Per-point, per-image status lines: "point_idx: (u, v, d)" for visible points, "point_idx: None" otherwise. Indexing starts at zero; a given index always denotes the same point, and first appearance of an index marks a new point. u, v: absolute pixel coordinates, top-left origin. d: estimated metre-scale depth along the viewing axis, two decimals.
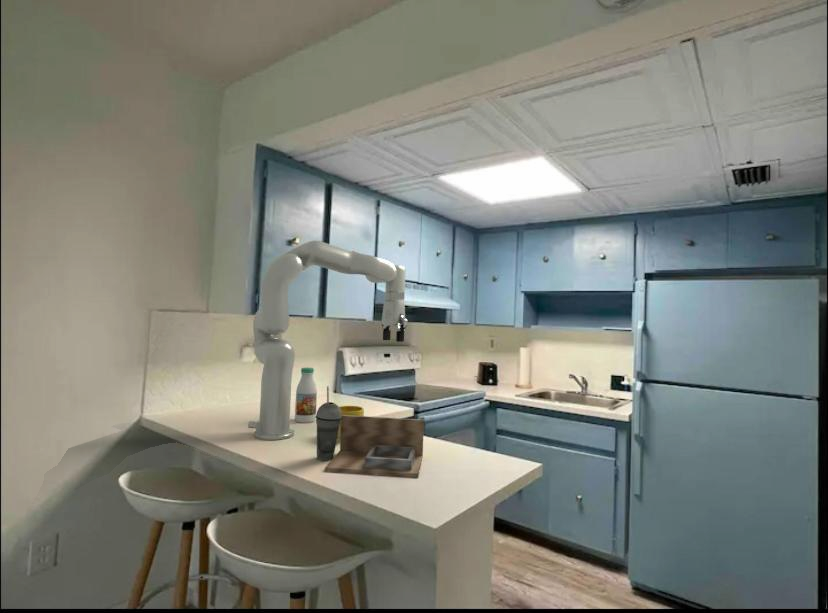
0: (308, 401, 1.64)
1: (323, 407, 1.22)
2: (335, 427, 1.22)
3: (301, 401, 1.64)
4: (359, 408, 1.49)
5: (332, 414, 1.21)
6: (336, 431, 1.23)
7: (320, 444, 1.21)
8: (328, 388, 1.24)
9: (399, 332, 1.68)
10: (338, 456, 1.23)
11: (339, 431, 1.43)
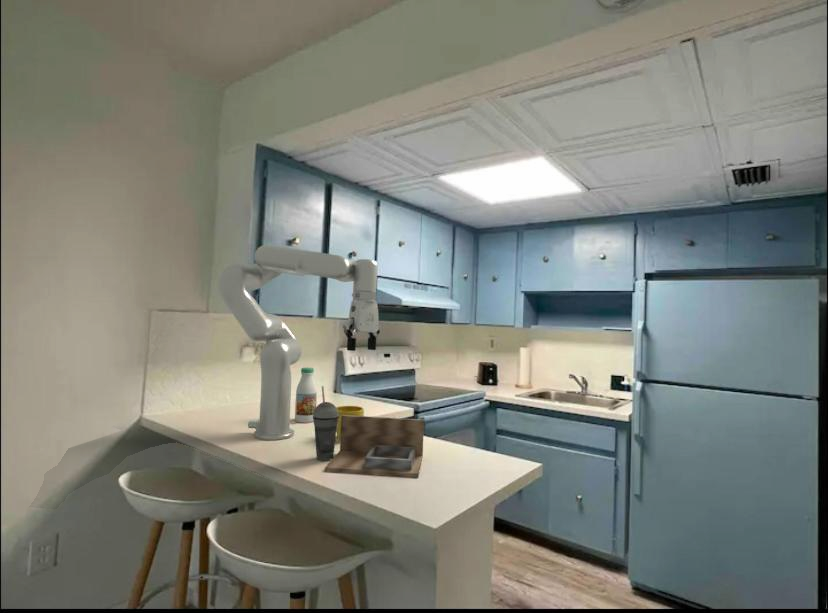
0: (308, 401, 1.64)
1: (319, 407, 1.22)
2: (333, 426, 1.22)
3: (301, 401, 1.64)
4: (359, 408, 1.49)
5: (328, 413, 1.21)
6: (334, 430, 1.23)
7: (319, 444, 1.22)
8: (323, 388, 1.25)
9: None
10: (338, 456, 1.23)
11: (339, 431, 1.43)
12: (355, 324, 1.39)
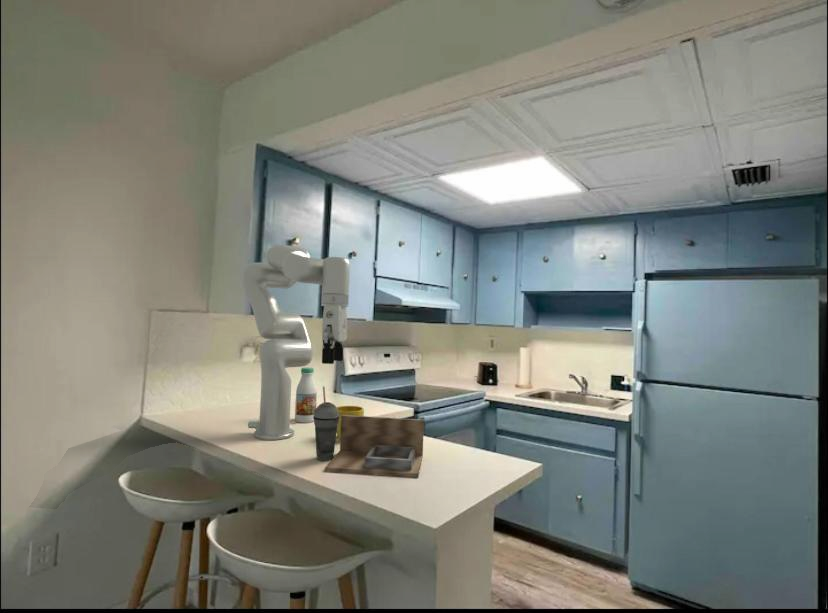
0: (308, 401, 1.64)
1: (320, 407, 1.22)
2: (333, 426, 1.22)
3: (301, 401, 1.64)
4: (359, 408, 1.49)
5: (329, 413, 1.21)
6: (334, 430, 1.23)
7: (319, 444, 1.22)
8: (324, 388, 1.25)
9: None
10: (338, 456, 1.23)
11: (339, 431, 1.43)
12: (334, 333, 1.20)
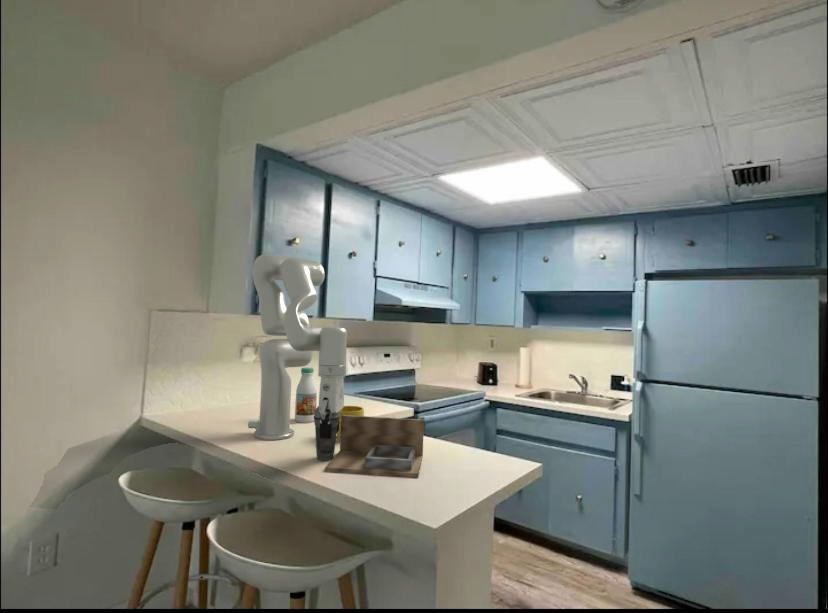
0: (308, 401, 1.64)
1: None
2: (333, 426, 1.22)
3: (301, 401, 1.64)
4: (359, 408, 1.49)
5: None
6: (335, 430, 1.23)
7: (319, 444, 1.22)
8: None
9: None
10: (338, 456, 1.23)
11: (339, 431, 1.43)
12: (330, 406, 1.19)
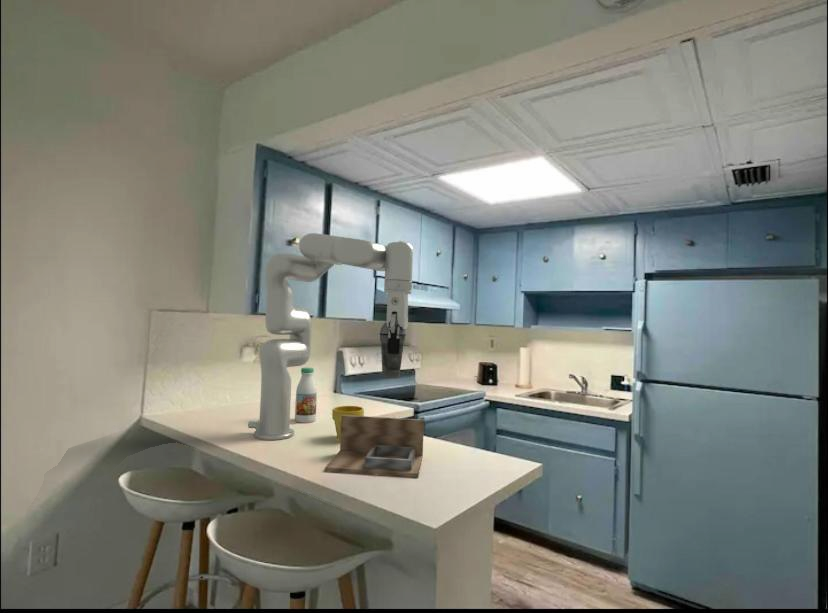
0: (308, 401, 1.64)
1: None
2: (401, 343, 1.19)
3: (301, 401, 1.64)
4: (359, 408, 1.49)
5: None
6: (401, 347, 1.20)
7: (386, 361, 1.19)
8: None
9: None
10: (338, 456, 1.23)
11: (339, 431, 1.43)
12: (399, 320, 1.16)
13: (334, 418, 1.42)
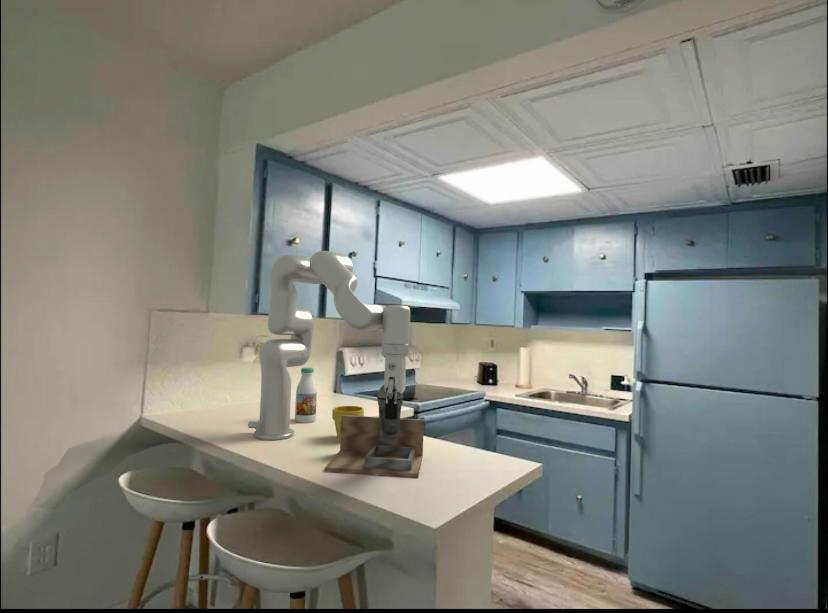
0: (308, 401, 1.64)
1: None
2: (398, 407, 1.19)
3: (301, 401, 1.64)
4: (359, 408, 1.49)
5: None
6: (399, 411, 1.19)
7: (384, 425, 1.18)
8: None
9: None
10: (338, 456, 1.23)
11: (339, 431, 1.43)
12: (397, 385, 1.16)
13: (334, 418, 1.42)
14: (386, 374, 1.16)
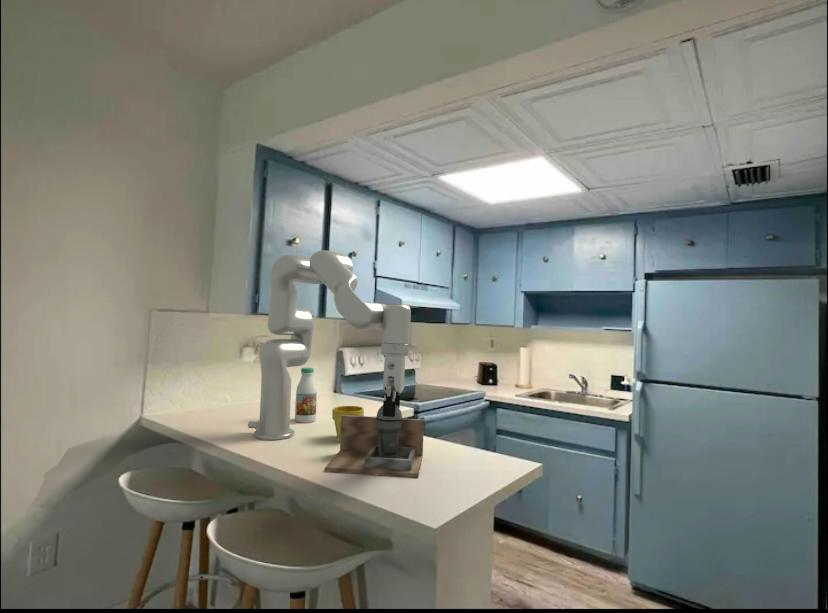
0: (308, 401, 1.64)
1: None
2: (397, 428, 1.19)
3: (301, 401, 1.64)
4: (359, 408, 1.49)
5: None
6: (398, 432, 1.20)
7: (383, 446, 1.18)
8: None
9: None
10: (338, 456, 1.23)
11: (339, 431, 1.43)
12: (396, 385, 1.16)
13: (334, 418, 1.42)
14: (385, 373, 1.16)
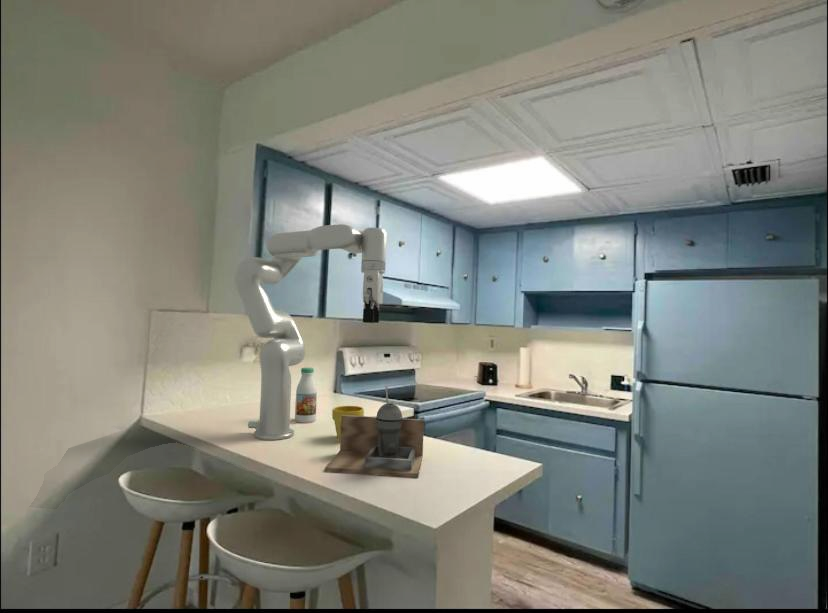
0: (308, 401, 1.64)
1: (384, 408, 1.19)
2: (397, 428, 1.19)
3: (301, 401, 1.64)
4: (359, 408, 1.49)
5: (394, 415, 1.18)
6: (398, 432, 1.20)
7: (383, 446, 1.18)
8: None
9: None
10: (338, 456, 1.23)
11: (339, 431, 1.43)
12: (373, 295, 1.33)
13: (335, 418, 1.42)
14: (364, 285, 1.34)
